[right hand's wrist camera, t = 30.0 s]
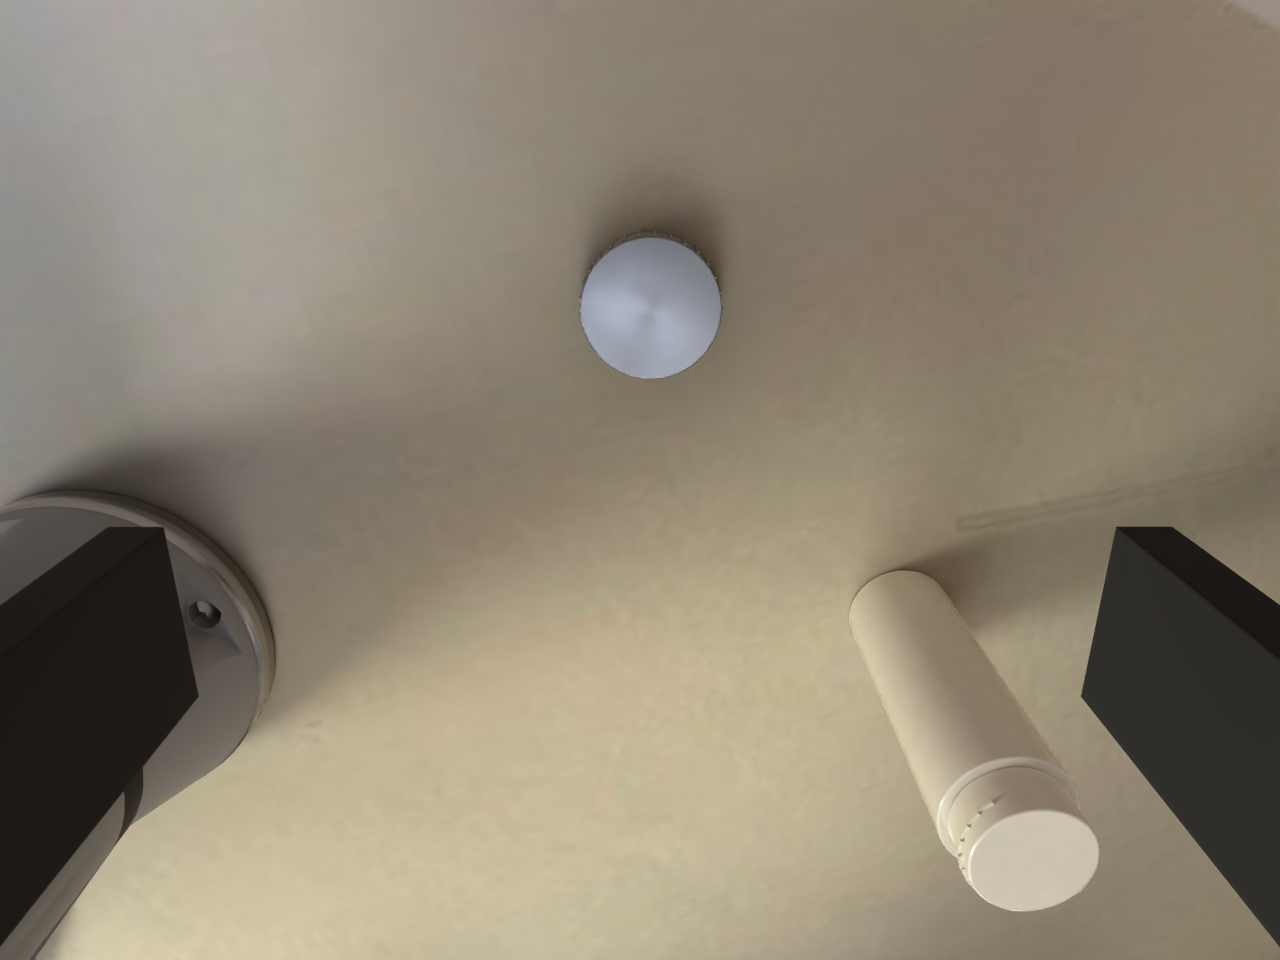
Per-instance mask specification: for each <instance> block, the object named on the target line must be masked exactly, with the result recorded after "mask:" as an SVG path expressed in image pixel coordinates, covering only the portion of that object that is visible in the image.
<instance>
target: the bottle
mask: <svg viewBox="0 0 1280 960" xmlns="http://www.w3.org/2000/svg"><path fill="white" fill-rule="evenodd" d="M849 625H850V629H851V632H852V635H853V637H854V639H855V642H856V644H857V646H858V649H859V651H860V653H861V656H862V658H863V660H864V663H865V665H866V667H867V669H868V672H869V674H870V676H871V679H872V681H873V683H874V686H875V688H876V690H877V693H878V695H879V697H880V700H881V702H882V704H883V707H884V709H885V711H886V714H887V716H888V718H889V721H890V723H891V725H892V728H893V730H894V732H895V735H896V737H897V739H898V742H899V744H900V746H901V749H902V751H903V753H904V756H905V758H906V760H907V762H908V765H909V767H910V769H911V772H912V774H913V776H914V779H915V781H916V783H917V786H918V788H919V790H920V793H921V795H922V797H923V800H924V802H925V804H926V807H927V809H928V811H929V814H930V816H931V818H932V821H933V823H934V825H935V828H936V830H937V832H938V835H939V837H940V839H941V841H942V843H943V844H944V846H945V847H946V848H947V850H948V851H949V852H950V853H951V854H953V855H954V856H955V857H956V858H958V863H959V867H960V870H961V872H962V873H963V875H964V877H965V879H966V880H967V882H968V884H969V885H970V886H971V887H972V888H974V890H975V891H976V892H977V893H978V894H979V895H980V896H981V897H982V898H984V899H985V900H986V901H988V902H989V903H991V904H993V905H995V906H997V907H1000V908H1003V909H1007V910H1013V911H1035V910H1041V909H1046V908H1049V907H1052V906H1055V905H1058V904H1060V903H1062V902H1064V901H1066V900H1068V899H1069V898H1071V897H1073V896H1074V895H1075V894H1077V893H1080V892H1081V891H1082V890H1083V888H1084V887H1085V886H1086V885H1087V884H1088V883H1089V881H1090V880H1091V878H1092V876H1093V875H1094V873H1095V871H1096V868H1097V865H1098V862H1099V843H1098V839H1097V837H1096V834H1095V833H1094V831H1093V829H1092V828H1091V826H1090V825H1089V823H1088V822H1087V820H1086V819H1085V817H1084V816H1083V814H1082V813H1081V811H1080V801H1079V795H1078V791H1077V789H1076V786H1075V784H1074V782H1073V781H1072V779H1071V778H1070V776H1069V775H1068V773H1067V772H1066V770H1065V769H1064V767H1063V766H1062V764H1061V763H1060V761H1059V760H1058V758H1057V757H1056V755H1055V754H1054V752H1053V751H1052V750H1051V748H1050V747H1049V745H1048V744H1047V742H1046V741H1045V739H1044V738H1043V736H1042V735H1041V733H1040V732H1039V730H1038V729H1037V727H1036V726H1035V724H1034V723H1033V721H1032V720H1031V718H1030V717H1029V715H1028V714H1027V713H1026V711H1025V710H1024V708H1023V707H1022V705H1021V704H1020V702H1019V701H1018V699H1017V698H1016V696H1015V695H1014V693H1013V692H1012V690H1011V689H1010V687H1009V686H1008V684H1007V683H1006V681H1005V680H1004V678H1003V677H1002V676H1001V674H1000V673H999V671H998V670H997V668H996V667H995V665H994V664H993V662H992V661H991V659H990V658H989V656H988V655H987V653H986V652H985V650H984V649H983V647H982V646H981V644H980V643H979V641H978V640H977V639H976V637H975V636H974V634H973V633H972V631H971V630H970V628H969V627H968V625H967V624H966V622H965V621H964V619H963V618H962V616H961V615H960V613H959V612H958V610H957V609H956V607H955V606H954V604H953V603H952V602H951V600H950V599H949V597H948V596H947V594H946V593H945V591H944V590H943V588H942V587H941V586H940V585H939V584H938V583H937V582H936V581H935V580H934V579H932V578H931V577H929V576H927V575H925V574H922V573H919V572H915V571H908V570H900V571H892V572H888V573H885V574H882V575H880V576H878V577H876V578H874V579H873V580H871V581H870V582H868V583H867V584H866V585H865V586H864V587H863V588H862V589H861V590H860V591H859V592H858V594H857V595H856V597H855V598H854V600H853V603H852V605H851V608H850V613H849Z"/></svg>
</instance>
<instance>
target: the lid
mask: <svg viewBox="0 0 1280 960" xmlns="http://www.w3.org/2000/svg"><path fill="white" fill-rule="evenodd" d="M709 265H710V264H709V262H708V260H707V258H706V257H705V258H703V256H702V255H701V254H700V252H699V250H698V249H697V247H696V246H695V247H692V246H691V245H690V244H689V243H687V242H686V240H685V239H684V238H682V239H680V238H678V237H676V236H673V235H672V234H671V233H670V232H668V234H666V233H661V232H656V230H653V232H641V230H640V231H638V233H635V234H631V235H628V236H626V234H625V235H623V238H621V239H619V240H617V241H616V242H614V243H613V242H610V245H609V247H607V248H606V249H605V250H604V251H603V252H601V251H600V252H599V254H598V257H597V259H596V261H595V262H594V264H592V263H591V265H590V267H589V269H588V272H589V274H588V276H587V278H586V277H585V278H584V281H583V283H582V286H584V287H583V291H582V293H581V295H580V298H579V301H581V302H580V314H579V316H580V317H581V322H582V326H583V332H584V333H585V335H586V337H587V340H588V341H589V344H590V345H591V347H592V348H593V350H594V351H595V352H596V353H597V355H598V356H599V357H600V358H601V359H602V360H603V361H604V362H606V363H607V364H608V365H609V366H611V367H612V368H614V369H616V370H617V371H619V372H621V373H624V374H626V375H629V376H633V377H637V378H643V379H657V378H664V377H669V376H672V375H675V374H678V373H680V372H682V371H684V370H686V369H688V368H689V367H690V366H692V365H693V364H695V363H696V362H697V361H698V360H699V359H700V358H701V357H702V356H703V355H704V354H705V353H706V352H707V350H708V349H709V347H710V346H711V344H712V343H713V341H714V339H715V336H716V334H717V331H718V328H719V325H720V323H721V322H720V320H721V311H722V309H723V306H722V304H721V295H720V294H722V292H721V290H720V288H719V286H718V284H717V281H716V279H717V276H716V274H715V273H714V271H711V269H710V267H709Z"/></svg>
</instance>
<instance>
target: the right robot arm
mask: <svg viewBox="0 0 1280 960" xmlns="http://www.w3.org/2000/svg"><path fill="white" fill-rule="evenodd" d="M273 675H274V646H273V639H272V634H271V630H270V626H269V623H268V619H267V617H266V614H265V612H264V609H263V607H262V605H261V603H260V600H259V598H258V596H257V594H256V593H255V591H254V589H253V588H252V586H251V585H250V583H249V581H248V580H247V579H246V577H245V576H244V575H243V573H242V572H241V571H240V569H239V568H238V567H237V566H236V564H235V563H234V562H233V561H232V560H231V559H230V558H229V557H228V556H227V555H226V554H225V553H224V552H223V551H222V550H221V549H220V548H219V547H218V546H217V545H216V544H215V543H214V542H212V541H211V540H210V539H209V538H207V537H206V536H205V535H203V534H202V533H201V532H200V531H198V530H197V529H195V528H194V527H192V526H191V525H189V524H188V523H186V522H184V521H183V520H181V519H179V518H177V517H175V516H174V515H172V514H170V513H168V512H166V511H163V510H161V509H159V508H157V507H155V506H152V505H149V504H147V503H144V502H141V501H138V500H135V499H131V498H128V497H124V496H120V495H115V494H110V493H105V492H96V491H83V490H67V491H55V492H48V493H43V494H37V495H34V496H30V497H27V498H23V499H20V500H18V501H16V502H13V503H11V504H8V505H6V506H4V507H3V508H1V509H0V960H34V959H35V957H36V955H37V954H38V953H39V951H40V950H41V948H42V947H43V946H44V944H45V943H46V941H47V940H48V939H49V937H50V936H51V934H52V933H53V932H54V930H55V929H56V927H57V926H58V925H59V923H60V922H61V920H62V919H63V918H64V916H65V915H66V913H67V912H68V911H69V909H70V908H71V907H72V905H73V904H74V902H75V901H76V900H77V898H78V897H79V895H80V894H81V893H82V891H83V890H84V888H85V887H86V886H87V884H88V883H89V881H90V880H91V879H92V877H93V876H94V874H95V873H96V872H97V870H98V869H99V867H100V866H101V865H102V863H103V862H104V860H105V859H106V858H107V856H108V855H109V853H110V852H111V851H112V849H113V847H114V846H115V845H116V843H117V842H118V841H119V839H120V838H121V837H122V835H123V834H124V833H125V831H126V830H127V829H128V828H129V826H130V825H131V824H133V823H134V822H136V821H137V820H139V819H140V818H142V817H143V816H145V815H146V814H148V813H149V812H151V811H152V810H154V809H155V808H157V807H158V806H160V805H161V804H163V803H164V802H166V801H167V800H169V799H170V798H172V797H173V796H175V795H176V794H178V793H179V792H181V791H182V790H184V789H185V788H186V787H188V786H189V785H191V784H192V783H194V782H195V781H197V780H198V779H200V778H202V777H203V776H205V775H206V774H208V773H209V772H210V771H212V770H213V769H215V768H216V767H217V766H219V765H220V764H221V763H223V762H224V761H225V760H226V759H227V758H228V757H229V756H230V755H231V754H232V753H233V752H234V751H235V750H236V748H237V747H238V746H239V745H240V743H241V742H242V740H243V739H244V737H245V736H246V734H247V733H248V731H249V730H250V728H251V727H252V725H253V724H254V722H255V721H256V719H257V718H258V716H259V714H260V713H261V711H262V709H263V707H264V705H265V703H266V701H267V698H268V695H269V692H270V689H271V685H272V680H273ZM1081 697H1082V698H1083V700H1084V701H1085V702H1086V703H1087V705H1088V706H1089V707H1090V708H1091V710H1092V711H1093V712H1094V713H1095V715H1096V716H1097V717H1098V718H1099V720H1100V721H1101V722H1102V723H1103V725H1104V726H1105V727H1106V729H1107V730H1108V731H1109V732H1110V734H1111V735H1112V736H1113V737H1114V739H1115V740H1116V741H1117V742H1118V744H1119V745H1120V746H1121V747H1122V749H1123V750H1124V751H1125V752H1126V754H1127V755H1128V756H1129V758H1130V759H1131V760H1132V761H1133V763H1134V764H1135V765H1136V766H1137V768H1138V769H1139V770H1140V771H1141V773H1142V774H1143V775H1144V776H1145V778H1146V779H1147V780H1148V781H1149V783H1150V784H1151V785H1152V787H1153V788H1154V789H1155V790H1156V792H1157V793H1158V794H1159V795H1160V797H1161V798H1162V799H1163V800H1164V802H1165V803H1166V804H1167V805H1168V807H1169V808H1170V809H1171V810H1172V812H1173V813H1174V814H1175V816H1176V817H1177V818H1178V819H1179V821H1180V822H1181V823H1182V824H1183V826H1184V827H1185V828H1186V829H1187V831H1188V832H1189V833H1190V834H1191V836H1192V837H1193V838H1194V839H1195V841H1196V842H1197V843H1198V844H1199V846H1200V847H1201V848H1202V850H1203V851H1204V852H1205V853H1206V855H1207V856H1208V857H1209V858H1210V860H1211V861H1212V862H1213V863H1214V865H1215V866H1216V867H1217V868H1218V870H1219V871H1220V872H1221V873H1222V875H1223V876H1224V877H1225V879H1226V880H1227V881H1228V882H1229V884H1230V885H1231V886H1232V887H1233V889H1234V890H1235V891H1236V892H1237V894H1238V895H1239V896H1240V897H1241V899H1242V900H1243V901H1244V902H1245V904H1246V905H1247V906H1248V908H1249V909H1250V910H1251V911H1252V913H1253V914H1254V915H1255V916H1256V918H1257V919H1258V920H1259V921H1260V923H1261V924H1262V925H1263V926H1264V928H1265V929H1266V930H1267V931H1268V933H1269V934H1270V935H1271V937H1272V938H1273V939H1274V940H1275V942H1276V943H1277V944H1278V945H1279V947H1280V605H1279V604H1278V603H1276V602H1275V601H1273V600H1272V599H1271V598H1269V597H1268V596H1267V595H1265V594H1264V593H1262V592H1261V591H1260V590H1258V589H1257V588H1256V587H1254V586H1253V585H1251V584H1250V583H1249V582H1247V581H1246V580H1245V579H1243V578H1242V577H1240V576H1239V575H1238V574H1236V573H1235V572H1234V571H1232V570H1231V569H1229V568H1228V567H1227V566H1225V565H1224V564H1223V563H1221V562H1220V561H1218V560H1217V559H1216V558H1214V557H1213V556H1211V555H1210V554H1209V553H1207V552H1206V551H1205V550H1203V549H1202V548H1200V547H1199V546H1198V545H1196V544H1195V543H1194V542H1192V541H1191V540H1189V539H1188V538H1187V537H1185V536H1184V535H1183V534H1181V533H1180V532H1178V531H1177V530H1176V529H1174V528H1173V527H1116V531H1115V536H1114V540H1113V545H1112V550H1111V555H1110V560H1109V564H1108V569H1107V574H1106V579H1105V584H1104V588H1103V593H1102V598H1101V603H1100V608H1099V613H1098V617H1097V622H1096V627H1095V632H1094V637H1093V641H1092V646H1091V651H1090V656H1089V661H1088V665H1087V670H1086V675H1085V680H1084V685H1083V689H1082V694H1081Z"/></svg>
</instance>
